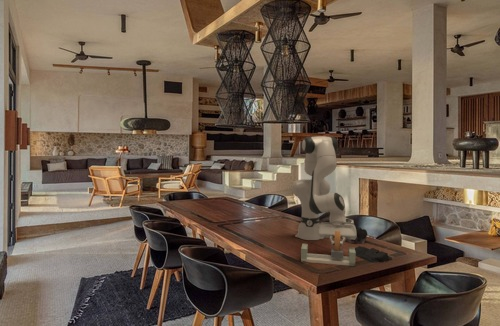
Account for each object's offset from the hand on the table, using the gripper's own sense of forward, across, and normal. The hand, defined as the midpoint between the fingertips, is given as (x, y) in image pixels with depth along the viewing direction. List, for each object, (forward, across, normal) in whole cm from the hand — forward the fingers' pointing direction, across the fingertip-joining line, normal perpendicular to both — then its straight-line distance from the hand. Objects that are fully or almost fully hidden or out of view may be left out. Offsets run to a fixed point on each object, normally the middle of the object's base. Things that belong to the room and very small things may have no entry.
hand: (337, 244), depth 200 cm
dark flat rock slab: (-4, +18, +18) cm, 26 cm away
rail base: (+6, -5, +7) cm, 11 cm away
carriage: (+4, 0, +5) cm, 6 cm away
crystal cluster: (-26, +13, +40) cm, 50 cm away
